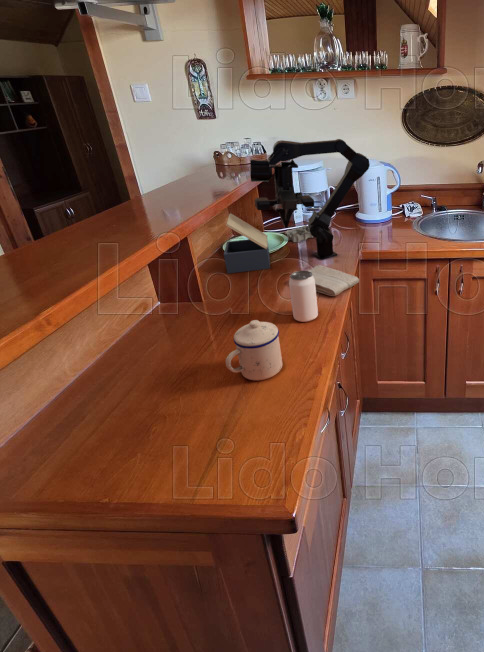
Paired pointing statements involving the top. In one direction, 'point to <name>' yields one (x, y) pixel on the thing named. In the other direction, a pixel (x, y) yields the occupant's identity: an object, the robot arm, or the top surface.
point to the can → (303, 296)
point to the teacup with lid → (257, 351)
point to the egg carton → (299, 234)
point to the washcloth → (332, 280)
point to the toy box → (245, 256)
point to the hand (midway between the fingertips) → (285, 227)
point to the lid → (247, 230)
